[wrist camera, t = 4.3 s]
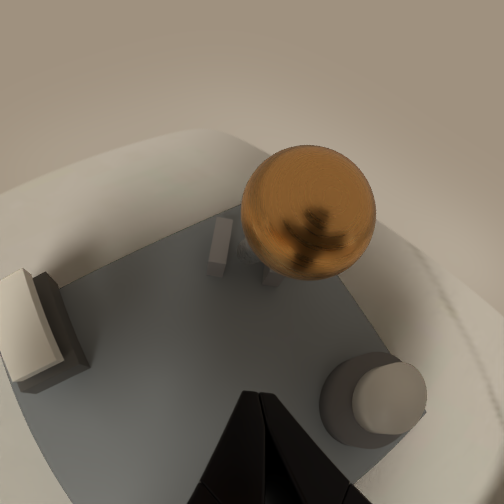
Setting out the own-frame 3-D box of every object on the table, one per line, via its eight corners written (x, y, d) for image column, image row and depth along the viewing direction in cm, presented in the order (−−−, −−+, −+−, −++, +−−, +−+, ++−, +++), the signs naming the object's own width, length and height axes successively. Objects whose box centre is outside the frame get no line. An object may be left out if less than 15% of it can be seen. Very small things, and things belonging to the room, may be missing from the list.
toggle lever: (269, 283, 15) (394, 292, 5) (216, 274, 15) (235, 265, 4) (277, 231, 16) (404, 146, 5) (226, 221, 15) (265, 104, 5)
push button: (418, 402, 12) (436, 400, 11) (374, 446, 11) (392, 449, 10) (387, 353, 13) (404, 347, 12) (339, 395, 12) (355, 393, 11)
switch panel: (411, 413, 15) (445, 410, 13) (152, 578, 8) (147, 605, 6) (266, 201, 20) (278, 169, 17) (4, 326, 13) (-25, 310, 10)
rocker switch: (64, 360, 10) (56, 360, 10) (22, 381, 9) (12, 382, 9) (31, 274, 11) (22, 268, 10) (-8, 296, 10) (-19, 291, 9)
